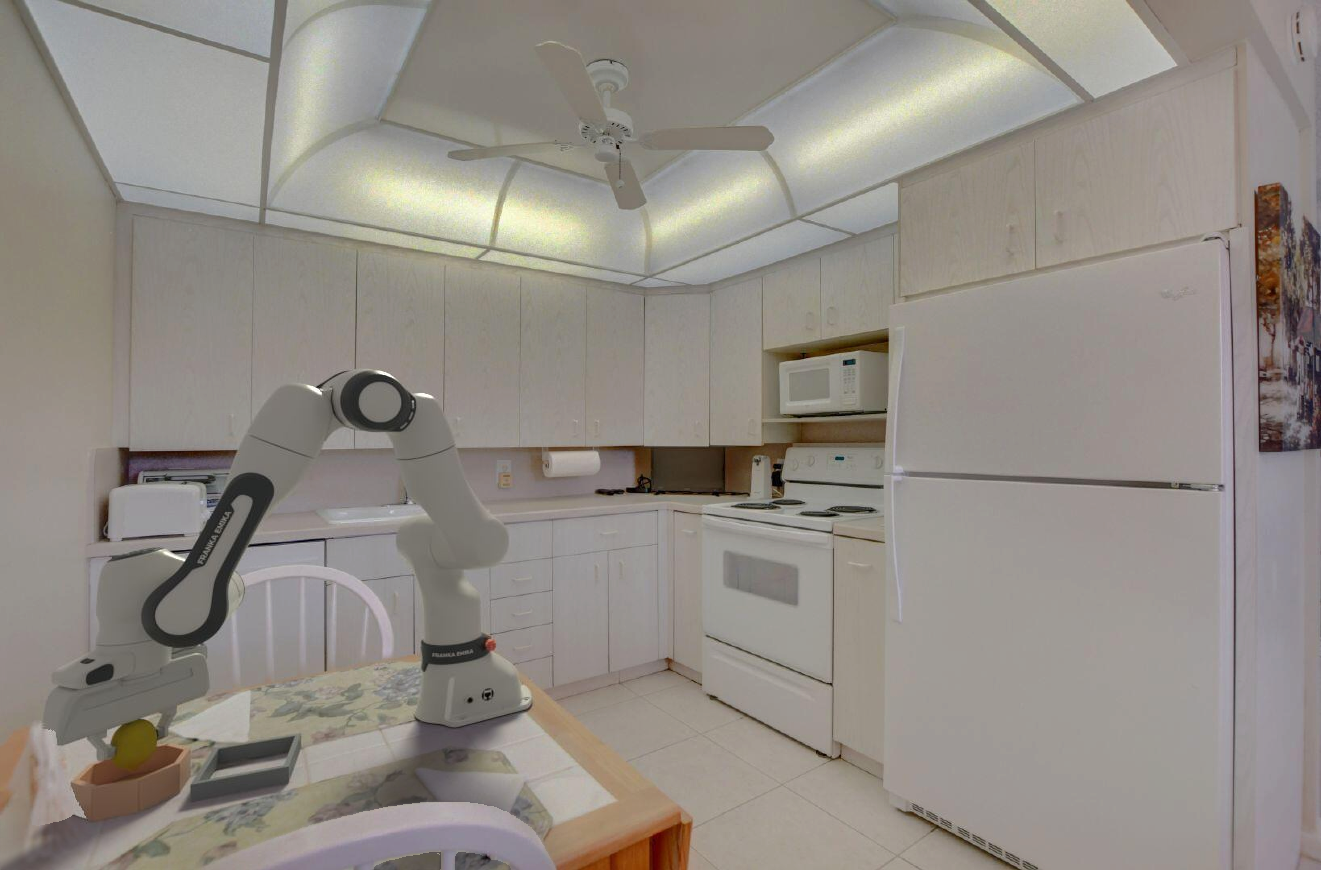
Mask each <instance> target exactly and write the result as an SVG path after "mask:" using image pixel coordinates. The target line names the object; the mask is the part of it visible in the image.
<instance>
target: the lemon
mask: <svg viewBox="0 0 1321 870" xmlns="http://www.w3.org/2000/svg"><path fill="white" fill-rule="evenodd" d="M109 744H111V745H115V746H116V750H115V753H116V754H115V757H113V758H111V761H112V763H113V764H114V765H115V766H116V767H118V768H120V769H127V770H129V771H131V772H133V771H136V770H137V769H138V768H139V767H140V766H141V765H143V764H144V763H145V762H147V761H148V760H149V759H150V758H151V756H152V755H153V753H154V752H155V749H156V746H157V745H158V740H157V733H156V729H155V725H154V723H153V722H151V721H149V720H148V719H144V718H140V719H137V720H135V721H132V722H129V723H126V724H123V725H120V726H118V728H117V729H116V730H115V732H114V733H113V735H112V737H111V740H110V743H109Z"/></svg>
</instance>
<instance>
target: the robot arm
mask: <svg viewBox="0 0 1321 870" xmlns="http://www.w3.org/2000/svg"><path fill="white" fill-rule="evenodd" d="M341 428H347V429H350V430H353V431H354V430H355V431H360V432H370V433H386V435H387V436H388V437H389V440H390V442H392V448H393V451H394V454H395V458H396V461H397V464H398V465H397V466H398V468H399V472H400V475H401V479H402V482H403V485H404V489H405V492H406V494H407V496H408V498H410V499H411V500H412V502H414V503H415V504H417V505H418V506H420V508H422V510H424V513H421V514H417V515H413V516H410V517H408V518H406V519H405V520H404V521H402V523H401V524H400V526H399V527H398V530H397V532H396V537H395V545H396V549H397V552H398V554H400V556H401V557H402V558H403V559H404V561H406V563H407V564H408V565H409V567H410V569H411V571H412V574H413V576H414V579H415V581H416V584H417V588H418V591H419V594H420V599H421V607H422V630H423V631H422V634H423V638H422V640H421V642H420V651H419V652H420V653H419V656H420V657H419V658H420V659H419V661H420V670H421V681H420V682H421V683H420V689H419V695H418V700H417V703H416V707H415V710H414V717H415V718H416V719H417V720H419V721H421V722H424V723H427V724H428V723H429V724H437V725H438V724H439V725H443V726H447V727H449V728H459V727H462V726H467V725H471V724H475V723H478V722H482V721H486V720H489V719H493V718H498V717H501V716H505V715H508V714H512V713H516V712H520V711H524V710H527V709H529V708H530V706H531V705H532V704H533V703H532V702H533V697H532V693H531V692H532V691H531V690H530V689H529V688H528V687H527V685H525V684H524V683H522V682H521V680H520V676H519V672H518V670H517V669H516V667H515V665H513V663H512V662H510V661H509V660H507V659H505V658H504V657H502V656H501V655H499V654H498V653H495V650H496V648H497V643H496V640H495V639H494V638H492V637H491V636H490V635H489V634H488V633H487V632H485V633H484V632H482V599H481V595H480V593H479V591H478V590H477V589H476V588H475V587H474V586H472V584H471V583H470V582H469V580H468V578H467V575H466V573H465V571H479V570H485V569H491V568H494V567H496V566H498V565H499V564H500V563H501V562H502V561H504V558H505V557H506V555H507V553H508V550H509V545H510V535H509V532H508V528H507V527H506V525H505V524H504V522H502V521H501V520H500V519H498V518H497V517H496V516H494V515H493V514H491V512H489V510H488V509H487V508H485V506H484V505H483V503H482V502H481V501H480V499H478V497H477V495H476V494H475V492H474V491H473V489H472V487H471V486H470V484H469V482H468V479H467V478H466V474H465V471H464V469H463V465H462V463H461V459H460V455H459V452H458V451H459V450H458V448H457V445H456V441H455V438H454V435H453V432H452V429H451V426H450V423H449V421H448V418H447V416H446V414H445V412H444V410H443V407H442V405H441V404H440V402H439V401H438V399H437V398H435V397H434V396H432V395H430V394H426V393H419V392H418V393H417V392H416V393H414V392H413V393H411V392H410V391H409V390H408V389H407V388H406V387H405V386H404V385H403V384H402V383H401V382H400V381H399V380H398V379H397V378H396V377H394V376H392V374H390V373H387V372H385V371H382V370H374V369H370V368H354V369H351V370H344V371H341V372H338V373H335V374H334V375H331V376H330V377H329V378H327V379H326V380H324V381H323V382H321V383H320V384H318V385H316V386H313V385H310V384H307V383H303V382H288V383H285V384H282V385H280V386H279V387H277V388H276V389H275V391H274V392H273V393H272V394H271V395H270V396H269V397H268V399H267V400H266V401H265V403H264V404H263V405H262V407H261V408H260V410H259V411H258V412H257V414H256V415H255V417H254V418H253V420H252V422H251V423H250V425H249V426H248V429H247V430H246V432H245V434H244V436H243V438H242V439H241V442H240V444H239V446H238V449H237V451H236V453H235V456H234V458H233V461H232V463H231V465H230V469H229V473H228V475H227V478H226V481H225V483H224V484H223V485H224V486H223V488H222V491H221V493H220V496H219V499H218V500H217V504H216V505H215V507H214V509H213V511H212V513H211V515H210V516H209V518H208V519H207V522H206V524H205V525H204V527H203V529H202V530H201V533H200V534H199V536H198V538H197V540H196V541H195V543H194V545H193V546H192V548H191V550H190V552H189V554H188V555H187V557H183V556H180V555H178V554H176V553H173V552H172V551H171V550H169V549H167V548H165V547H159V546H158V547H157V546H155V547H148V548H143V549H138V550H134V551H129V552H127V553H122V554H119V555H117V556H115V557H113V558H111V559H109V560H107V562H105V563H104V565H102V568H101V570H100V574H99V578H98V583H97V592H96V607H95V608H96V609H95V611H96V612H95V613H96V617H97V620H98V624H99V629H98V630H99V631H98V634H97V636H96V638H95V648H94V649H92V650H90V651H88V652H87V653H85V654H83V655H81V656H79V657H78V658H76V659H74V660H72V661H70V662H68V663H65V664H64V665H62V666H60V667H58V668H56V669H54V670H53V672H52V673H51V676H50V677H51V683H52V684H54V685H56V687H55V688H54V689H52V691H51V692H50V693H49V694H48V696H47V697H46V700H45V705H44V709H43V716H42V726H44V727H42V726H41V729H42V728H43V729H48V730H50V729H51V730H52V731H53V730H54V731H55V732H56V738H57V745H56V746H62V747H63V746H65V745H69V744H71V743H74V742H78V741H80V740H83V739H86V740H87V741H88V742H89V743H90V745H92V746H93V747H94V749H96V760H97V761H101V762H103V761H106V760H108V759H111V758H113V757H115V754H116V753H115V750H116V746H115V745H111V744H110V743H106V742H105V741H104V739H106V738H107V737H108V731H109V730H112V729H115V728H117V727H120V726H121V725H123V724H126V723H129V722H132V721H135V720H137V719H144V718H146V717H148V716H151V715H154V714H161V716H160V718H159V719H158V720H159V721H158V723H157V724H156V726H155V725H154V727H155V729H156V733H157V741H159V740H162V739H165V738H167V737H168V736H169V726H170V725H171V723H172V722H173V720H174V718H175V716H176V714H177V712H178V710H177V709H178V706H180V705H183V704H186V703H189V702H192V701H194V700H197V699H201V698H202V697H205V696H206V695H207V694H208V693H209V690H210V689H211V680H210V679H211V678H210V671H209V666H208V661H207V660H208V647H207V644H206V643H205V642H207V641H209V640H210V639H211V638H212V637H214V636H215V635H216V634H217V633H219V631H220V630H221V628H222V627H223V625H224V624H225V622H227V620H228V619H229V618H230V617H231V616H232V615H233V614H234V612H235V611H236V610H237V609H238V608H239V607H240V606H241V604H242V602H243V600H244V598H245V597H244V596H245V593H246V592H245V591H246V587H245V582H244V580H243V578H242V577H241V575H240V574H239V573H238V572H237V571H236V570H237V568H238V566H239V564H240V561H241V560H242V558H243V556H244V555H245V553H246V552H247V548H248V547H249V545H250V543H251V541H252V540H253V538H254V536H255V534H256V533H257V530H258V529H259V528H260V527H261V525H262V524H263V523H264V521H265V520H266V519H267V518H268V517H269V516H270V515H271V514H272V513H273V512H274V511H276V509H277V508H279V507H280V506H281V505H283V503H285V502H286V501H287V500H289V499H290V498H291V497H292V496H294V494H295V493H296V492H297V490H298V489H299V488H300V487H301V485H303V483H304V481H305V480H306V478H307V477H308V475H309V474H310V472H311V470H312V469H313V466H314V465H315V464H316V461H317V459H318V458H319V454H320V453H321V451H322V448H323V447H324V443H325V442H327V440H328V439H329V437H330V436H332V434H333V433H334V432H336V431H337V430H338V429H339V430H340V429H341ZM43 723H45V724H43Z"/></svg>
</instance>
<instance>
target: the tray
mask: <svg viewBox="0 0 1321 870" xmlns="http://www.w3.org/2000/svg"><path fill="white" fill-rule="evenodd" d="M301 748H302V733H301V732H299V733H298V732H297V733H294V734H288V735H287V734H286V735H281V736H276V737H270V738H269V737H268V738H263V739H258V740H252V741H246V742H240V743H234V744H227V745H221V746H217V747H213V749H212V750H211V752H210V753H209V755H208V757H207V759H206V760H205V761H204V763H203V764H202V766H201V767H200V769H199V770H198V772H197V774H196V776H195V777H194V779H193V780H192V782H191V783H190V784H189V785H190V789H189V791H190V795H189V796H190V803H191V802H192V803H193V802H196V801H197V802H199V801H202V800H206V799H207V800H208V799H211V798H217V797H223V796H227V795H233V794H237V793H242V792H249V791H252V790H258V789H263V788H269V787H272V786H273V787H274V786H279V785H284V784H288V783H290V781H291V778H292V775H293V771H294V769H295V767H296V763H297V761H298V757H299V755H300V751H301ZM282 753H287V755H286V757H285V758H286V759H285V761H284V764H283V765H277V766H272V767H267V768H262V769H256V770H250V771H245V772H240V773H235V774H229V775H223V776H219V777H213V774H214V772H216V769H217V768H218V766H219V765H220V764H221V765H222V764H226V763H232V762H238V761H242V760H244V761H245V760H249V759H254V758H261V757H266V756H272V755H276V754H282ZM212 777H213V778H212Z"/></svg>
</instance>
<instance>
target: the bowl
mask: <svg viewBox="0 0 1321 870" xmlns="http://www.w3.org/2000/svg"><path fill="white" fill-rule="evenodd" d="M191 752H192V751H191V747H188V746H184V745H181V744H179V743H178V744H177V743H173V742H164V743H159V744H158V743H157V746H156V749H155V752H154V753H153V755H152V756H151V758H150V759H149V760H148V761H147V762H145V763H144V764H143V765H141V766H140V767H139V768H138V769H137V770H136V771H133V772H131V771H129V770H127V769H120V768H118V767H116V766H115V765H114V764H113V763H112V761H111V759H108V760H106V761H103V762H101V761H98V760H97V761H94V762H92V763H90V764H88V765H86V766H85V767H84V768H83V770H81V771H80V772H79V773H78V774H77V775H76V776H75V777H74V778H73V779H72V780H71V781H70V788H71V787H72V789H73V792H74V794H75V798H76V800H77V802H79V806H81V808H82V810H83V811H84V815H85V816H86V818H87V819H88V820H87V821H89V822H96V821H102V820H106V819H112V818H117V817H122V816H127V815H131V814H137V813H138V814H139V813H140V812H143V811H144V810H147V809H149V808H151V807H153V806H155V805H157V804H159V803H162V802H164V801H166V800H168V799H170V798H172V797H174V796H177V795H179V794H180V793H181V792H182V790H183V788H184V787H185V786H186V784H187V783H188V781H189V779H190V778H191V770H192V767H191V760H192V759H191V757H192V756H191Z"/></svg>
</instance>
